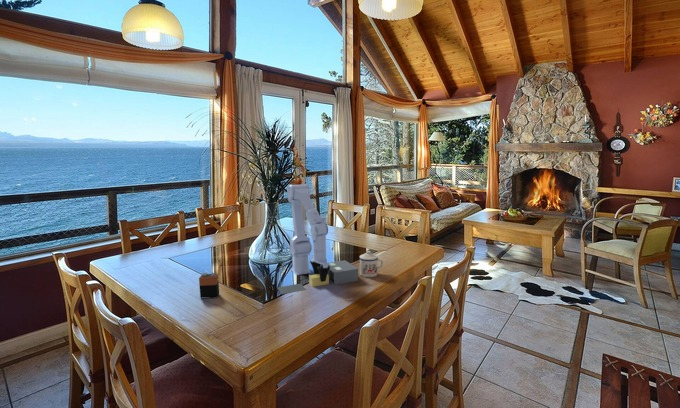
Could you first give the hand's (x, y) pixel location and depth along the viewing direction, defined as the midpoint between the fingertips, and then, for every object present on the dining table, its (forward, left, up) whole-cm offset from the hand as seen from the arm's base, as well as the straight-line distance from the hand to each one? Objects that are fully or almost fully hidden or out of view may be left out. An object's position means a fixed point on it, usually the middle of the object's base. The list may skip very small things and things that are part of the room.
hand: (320, 278), depth 156 cm
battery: (-8, -46, -3) cm, 47 cm away
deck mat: (0, -13, -3) cm, 14 cm away
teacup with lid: (-1, +28, -3) cm, 28 cm away
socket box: (-3, +12, -3) cm, 12 cm away
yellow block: (0, 0, -3) cm, 3 cm away
